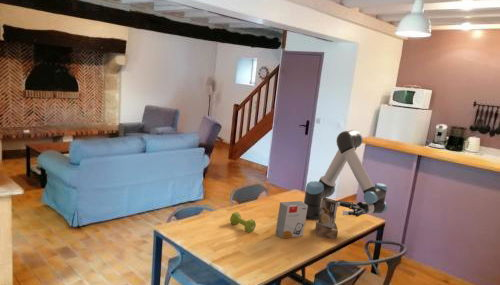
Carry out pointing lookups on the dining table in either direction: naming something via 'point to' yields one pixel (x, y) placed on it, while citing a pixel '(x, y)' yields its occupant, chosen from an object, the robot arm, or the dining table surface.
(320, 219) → the coffee box
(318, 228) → the walnut block
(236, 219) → the dumbbell
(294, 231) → the hard drive box
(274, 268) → the dining table surface
